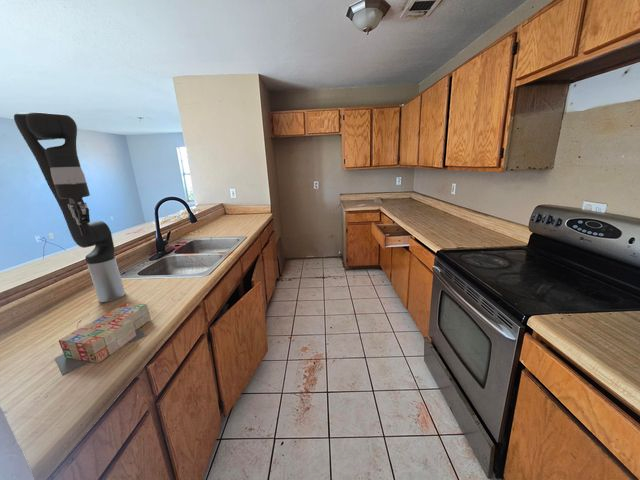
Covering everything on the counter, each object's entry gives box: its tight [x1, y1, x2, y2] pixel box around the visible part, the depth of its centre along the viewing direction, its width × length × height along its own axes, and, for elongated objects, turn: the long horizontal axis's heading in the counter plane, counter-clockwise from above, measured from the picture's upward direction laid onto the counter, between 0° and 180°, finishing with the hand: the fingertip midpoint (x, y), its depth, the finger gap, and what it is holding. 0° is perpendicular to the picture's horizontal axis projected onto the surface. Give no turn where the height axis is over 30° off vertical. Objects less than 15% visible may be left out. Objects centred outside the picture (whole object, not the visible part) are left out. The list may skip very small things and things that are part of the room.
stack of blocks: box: [58, 303, 151, 364], centre depth 83 cm, size 21×6×12 cm
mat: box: [54, 328, 147, 376], centre depth 80 cm, size 11×20×1 cm, turn 143°
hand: (86, 235), depth 86 cm, fingers closed
